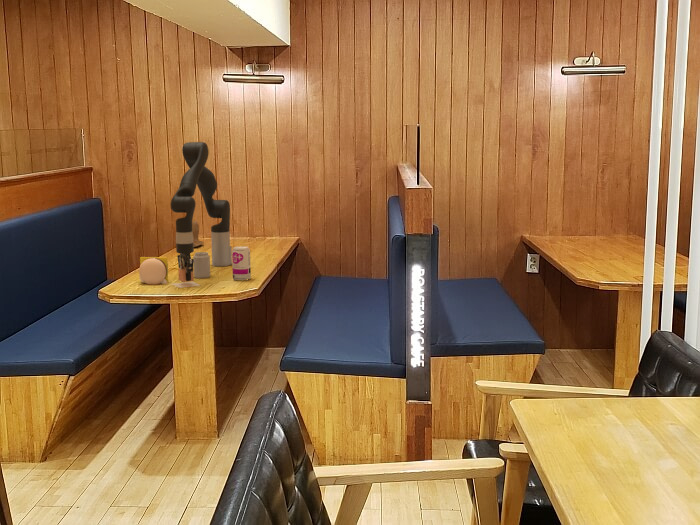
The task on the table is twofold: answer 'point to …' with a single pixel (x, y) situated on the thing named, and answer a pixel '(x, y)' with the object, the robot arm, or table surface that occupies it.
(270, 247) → the table surface
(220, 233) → the robot arm
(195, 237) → the brown boot
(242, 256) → the supplement can
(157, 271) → the hamburger
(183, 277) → the block
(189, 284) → the pad
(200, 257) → the can
